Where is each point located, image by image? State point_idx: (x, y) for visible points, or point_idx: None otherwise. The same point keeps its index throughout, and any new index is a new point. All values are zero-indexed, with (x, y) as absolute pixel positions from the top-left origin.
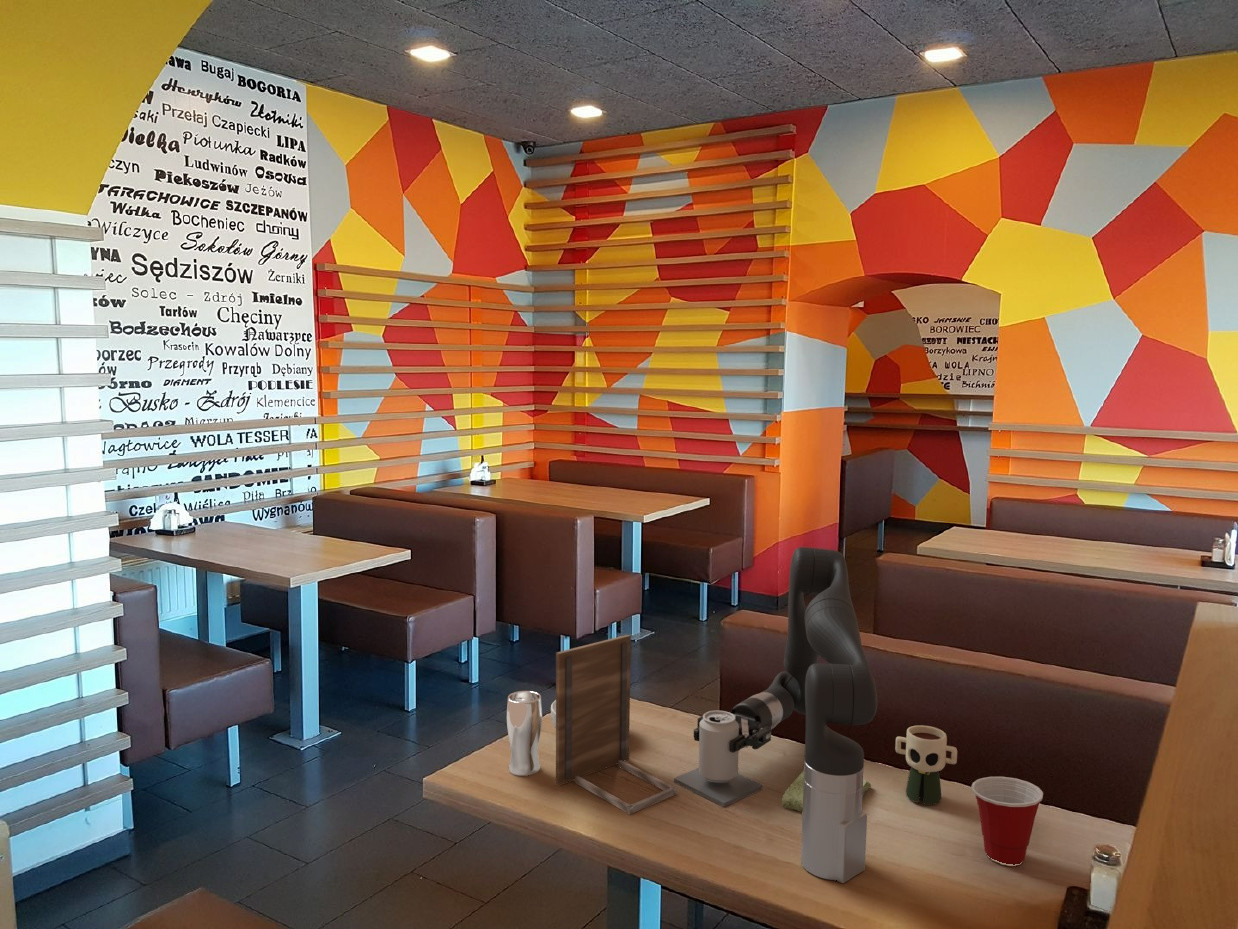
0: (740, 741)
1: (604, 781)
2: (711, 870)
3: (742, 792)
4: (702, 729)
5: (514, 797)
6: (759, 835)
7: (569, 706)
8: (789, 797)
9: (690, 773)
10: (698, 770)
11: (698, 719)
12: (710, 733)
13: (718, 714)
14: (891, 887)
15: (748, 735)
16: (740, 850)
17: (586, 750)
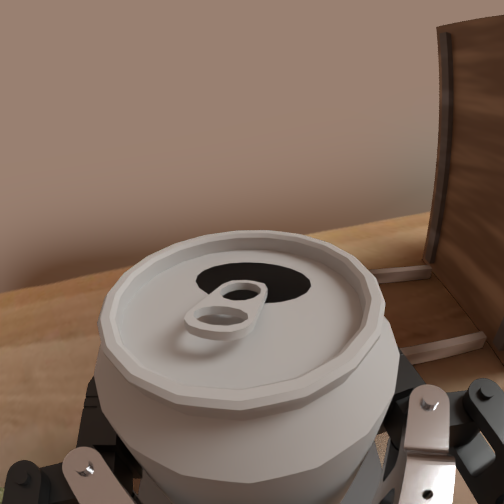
0: (89, 404)
1: (421, 304)
2: (85, 285)
3: (147, 493)
4: (272, 271)
5: (404, 227)
6: (45, 379)
7: (444, 126)
8: (2, 494)
9: (366, 456)
10: (372, 488)
11: (482, 380)
12: (212, 278)
13: (323, 346)
14: None
15: (63, 466)
16: (62, 331)
17: (462, 246)
